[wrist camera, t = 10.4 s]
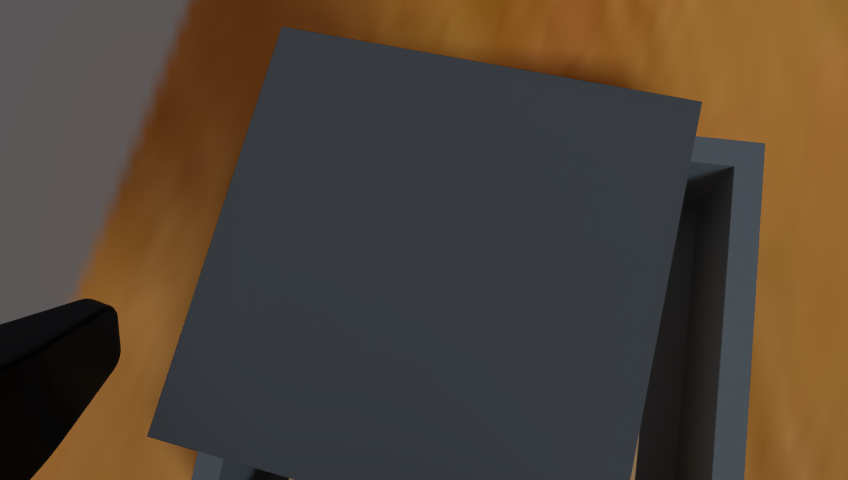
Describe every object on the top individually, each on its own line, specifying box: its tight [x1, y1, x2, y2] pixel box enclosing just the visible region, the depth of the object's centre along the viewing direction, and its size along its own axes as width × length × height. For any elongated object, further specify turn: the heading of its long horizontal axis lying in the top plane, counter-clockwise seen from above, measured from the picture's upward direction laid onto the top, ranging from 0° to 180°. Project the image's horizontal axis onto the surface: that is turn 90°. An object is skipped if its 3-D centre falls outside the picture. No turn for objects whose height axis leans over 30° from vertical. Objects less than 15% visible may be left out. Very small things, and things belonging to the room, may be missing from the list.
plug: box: [147, 27, 702, 480], centre depth 13 cm, size 4×4×13 cm
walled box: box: [192, 136, 765, 480], centre depth 18 cm, size 11×11×4 cm
